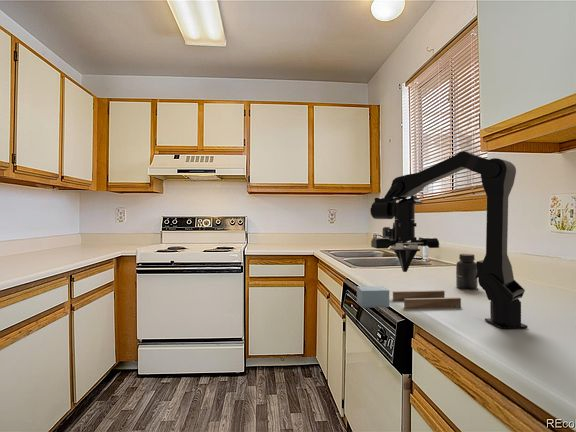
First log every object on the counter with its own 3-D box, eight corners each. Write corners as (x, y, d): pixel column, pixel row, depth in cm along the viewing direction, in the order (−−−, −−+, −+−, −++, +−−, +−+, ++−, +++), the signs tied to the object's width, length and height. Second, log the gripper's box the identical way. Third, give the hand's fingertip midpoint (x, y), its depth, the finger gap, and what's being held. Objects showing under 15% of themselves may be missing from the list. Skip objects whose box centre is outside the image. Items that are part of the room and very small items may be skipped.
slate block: (389, 307, 99) (389, 290, 99) (361, 308, 99) (361, 290, 99) (383, 302, 105) (382, 286, 105) (357, 302, 105) (356, 286, 105)
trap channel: (460, 307, 98) (460, 298, 98) (405, 308, 98) (405, 299, 98) (442, 298, 109) (442, 290, 109) (392, 299, 108) (392, 291, 108)
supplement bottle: (453, 287, 124) (453, 254, 123) (460, 285, 128) (459, 252, 128) (474, 290, 119) (473, 256, 119) (480, 287, 123) (480, 254, 123)
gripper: (423, 218, 111) (423, 267, 112) (366, 219, 110) (366, 268, 111) (440, 219, 100) (440, 273, 100) (376, 220, 99) (377, 274, 99)
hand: (404, 271), depth 103 cm, fingers closed
